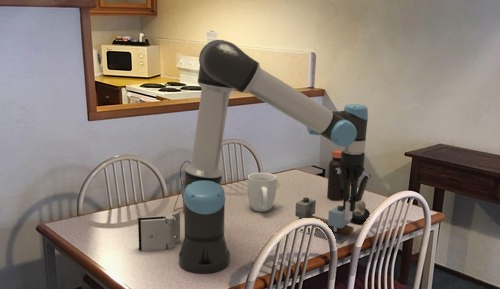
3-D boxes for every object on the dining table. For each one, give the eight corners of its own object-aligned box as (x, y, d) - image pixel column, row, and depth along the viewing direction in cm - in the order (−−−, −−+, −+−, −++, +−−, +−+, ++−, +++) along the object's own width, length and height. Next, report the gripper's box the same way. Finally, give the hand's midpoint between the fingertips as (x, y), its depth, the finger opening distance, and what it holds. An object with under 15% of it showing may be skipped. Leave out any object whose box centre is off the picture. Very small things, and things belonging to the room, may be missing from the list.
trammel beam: (346, 239, 166) (348, 213, 164) (294, 223, 179) (296, 199, 176) (356, 233, 172) (357, 207, 170) (305, 218, 184) (306, 194, 182)
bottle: (323, 197, 207) (326, 151, 202) (333, 194, 211) (336, 148, 207) (336, 202, 202) (339, 154, 197) (346, 198, 206) (350, 151, 202)
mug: (279, 217, 184) (281, 183, 181) (250, 218, 183) (251, 184, 180) (272, 203, 199) (273, 172, 196) (245, 204, 197) (246, 172, 194)
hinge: (179, 240, 163) (179, 211, 161) (184, 246, 158) (184, 217, 156) (137, 247, 157) (136, 217, 155) (141, 254, 153) (140, 223, 150)
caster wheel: (362, 232, 179) (337, 221, 184) (376, 217, 187) (352, 207, 192) (364, 217, 176) (339, 206, 181) (378, 203, 184) (354, 193, 189)
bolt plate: (340, 243, 163) (340, 240, 163) (287, 227, 175) (288, 224, 175) (349, 237, 168) (349, 234, 168) (298, 222, 180) (298, 219, 180)
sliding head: (340, 233, 167) (342, 211, 166) (327, 229, 170) (328, 207, 169) (350, 227, 173) (351, 205, 171) (337, 223, 176) (338, 202, 174)
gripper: (376, 152, 162) (370, 220, 168) (340, 146, 170) (336, 211, 175) (366, 157, 156) (360, 227, 162) (329, 150, 164) (325, 217, 170)
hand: (348, 219), depth 169 cm, fingers closed
